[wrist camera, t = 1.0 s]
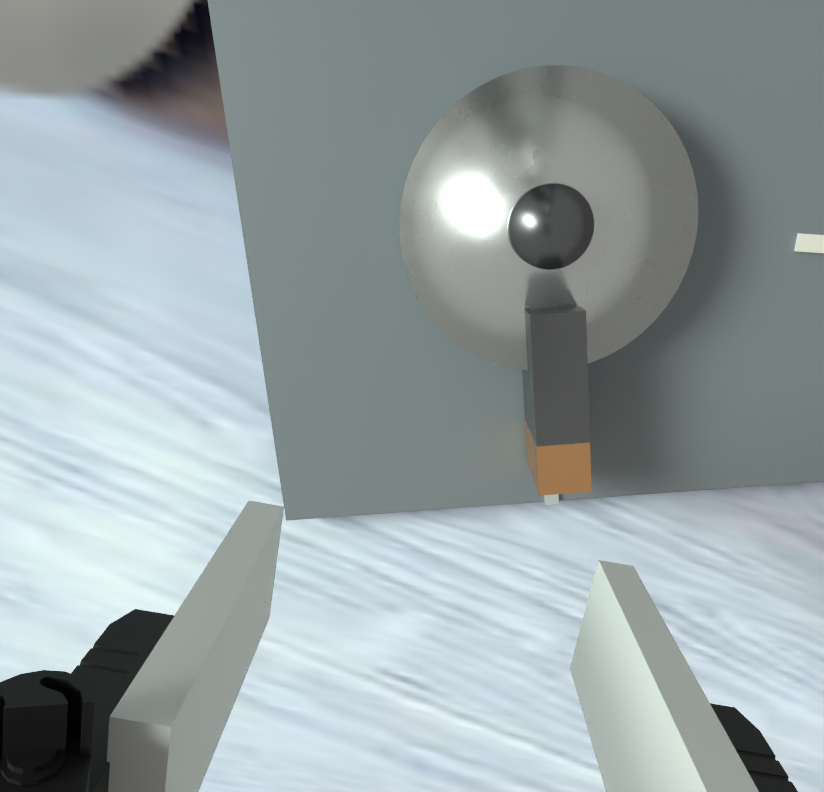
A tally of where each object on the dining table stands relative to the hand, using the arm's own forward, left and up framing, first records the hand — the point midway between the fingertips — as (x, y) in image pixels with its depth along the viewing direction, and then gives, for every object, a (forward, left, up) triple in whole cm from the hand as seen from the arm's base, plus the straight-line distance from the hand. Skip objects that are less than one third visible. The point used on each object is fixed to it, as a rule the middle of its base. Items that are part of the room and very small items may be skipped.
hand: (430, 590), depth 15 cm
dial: (-5, +5, -15) cm, 17 cm away
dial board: (-7, +5, -17) cm, 19 cm away
